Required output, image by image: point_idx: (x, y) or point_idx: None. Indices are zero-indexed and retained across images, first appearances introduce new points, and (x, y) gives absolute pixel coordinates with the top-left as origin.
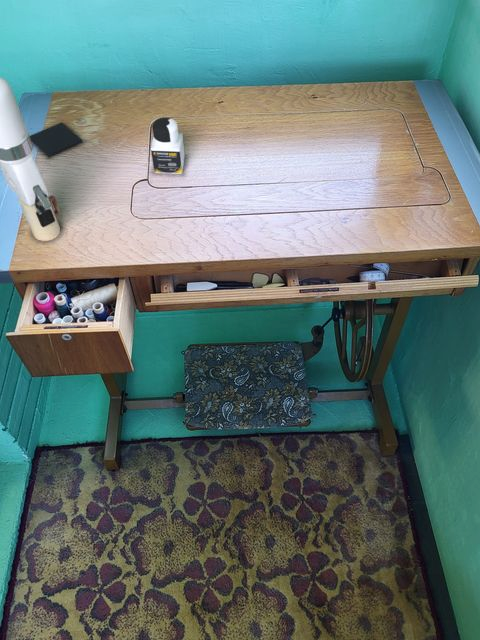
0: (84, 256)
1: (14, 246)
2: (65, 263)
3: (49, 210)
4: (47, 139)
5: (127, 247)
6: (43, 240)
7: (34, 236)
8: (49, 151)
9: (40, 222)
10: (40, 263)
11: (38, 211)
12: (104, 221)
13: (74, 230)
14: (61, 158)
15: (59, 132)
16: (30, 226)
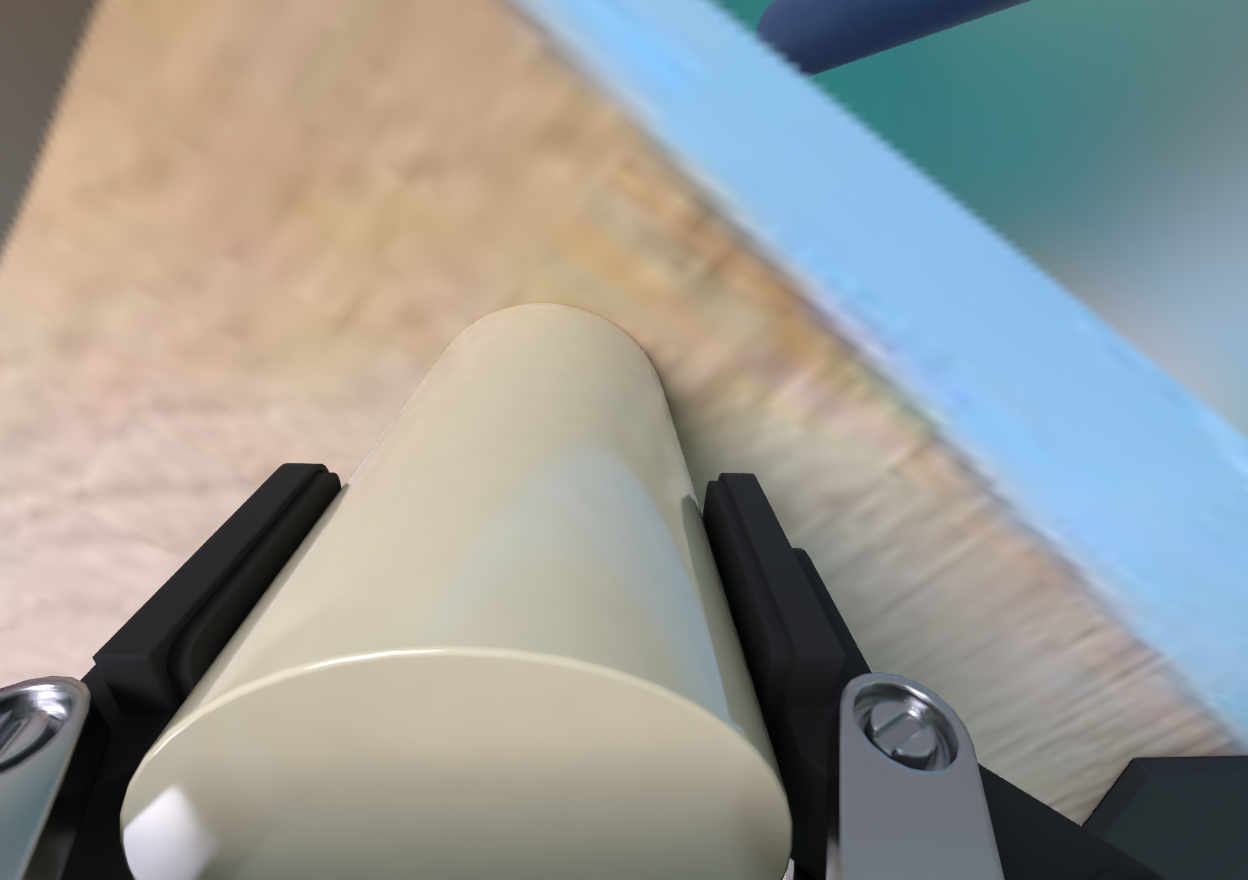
0: (71, 486)
1: (575, 47)
2: (39, 324)
3: None
4: (1241, 822)
5: None
6: (454, 339)
7: (557, 305)
8: (1163, 793)
9: (238, 511)
10: (146, 123)
11: None
12: None
13: None
14: (1056, 792)
15: (1205, 871)
16: (522, 351)
